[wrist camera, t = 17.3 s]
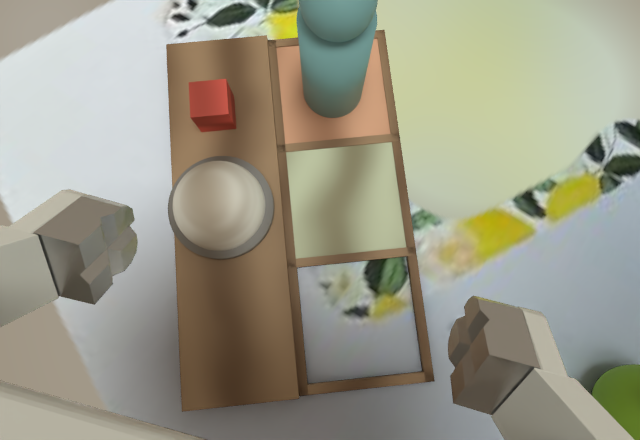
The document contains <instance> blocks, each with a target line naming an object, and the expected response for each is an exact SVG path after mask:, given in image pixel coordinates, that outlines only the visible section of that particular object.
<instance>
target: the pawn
mask: <svg viewBox="0 0 640 440" xmlns="http://www.w3.org/2000/svg"><path fill="white" fill-rule="evenodd" d="M377 1H378V0H299V5H300V6H299V9H298V13H297V29H298V40H299V50H300V61H301V72H302V83H303V93H304V98H305V101H306V103H307V105H308V106H309V107H310V108H311V109H312V110H313V111H314V112H315V113H317V114H319V115H321V116H323V117H327V118H338V117H342V116H345V115H347V114H349V113H350V112H351V111H353V110H354V109H355V108H356V106H357V105H358V103H359V101H360V99H361V95H362V90H363V86H364V81H365V77H366V72H367V67H368V63H369V58H370V54H371V49H372V44H373V40H374V35H375V31H376V26H377V14H376V7H377Z"/></svg>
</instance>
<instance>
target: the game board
mask: <svg viewBox="0 0 640 440" xmlns="http://www.w3.org/2000/svg"><path fill="white" fill-rule="evenodd" d="M166 47H167V71H168V94H169V118H170V142H171V165H172V191H171V194H170V197H169V203H168V215H169V221H170V225H171V227H172V230H173V232H174V236H175V260H176V283H177V307H178V330H179V354H180V378H181V401H182V412H183V411H192V410H201V409H210V408H219V407H228V406H237V405H246V404H255V403H264V402H273V401H282V400H292V399H299V396H304V395H313V394H322V393H331V392H340V391H350V390H359V389H368V388H377V387H386V386H395V385H404V384H413V383H422V382H431V381H434V375H433V368H432V361H431V354H430V347H429V340H428V333H427V326H426V319H425V312H424V305H423V298H422V291H421V284H420V277H419V270H418V262H417V255H416V248H415V241H414V234H413V227H412V220H411V213H410V206H409V199H408V193H407V185H406V179H405V171H404V165H403V157H402V150H401V143H400V137H399V129H398V122H397V115H396V108H395V101H394V94H393V87H392V81H391V74H390V66H389V59H388V52H387V45H386V38H385V32H384V30H378V31H375V35H374V40H373V44H372V49H371V54H370V58H369V63H368V67H367V72H366V77H365V81H364V86H363V90H362V95H361V99H360V101H359V103H358V105H357V106H356V108H355V109H354V110H353V111H351V112H350V113H349V114H347V115H345V116H342V117H338V118H327V117H323V116H321V115H319V114H317V113H315V112H314V111H313V110H312V109H311V108H310V107H309V106H308V105H307V103H306V101H305V98H304V93H303V83H302V72H301V61H300V50H299V40H298V38H289V39H278V40H268V39H267V36H256V37H244V38H233V39H222V40H211V41H200V42H189V43H178V44H167V45H166ZM404 256H407V263H408V270H409V277H410V284H411V291H412V299H413V306H414V313H415V320H416V328H417V335H418V342H419V349H420V356H421V364H422V371H421V372H412V373H403V374H394V375H385V376H376V377H366V378H357V379H348V380H339V381H330V382H321V383H312V384H308V383H307V372H306V361H305V350H304V339H303V328H302V318H301V307H300V296H299V285H298V274H297V268H298V267H307V266H317V265H327V264H336V263H346V262H356V261H366V260H375V259H385V258H395V257H404Z"/></svg>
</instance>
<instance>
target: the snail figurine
mask: <svg viewBox="0 0 640 440" xmlns="http://www.w3.org/2000/svg"><path fill="white" fill-rule="evenodd" d="M592 396H593V397H594V398H595V400H596V401H597V402H598V403H599V404H600V405H601V406H602V407H603V408H604V409H605V410H606V411H607V412H608V413H609V414H610V415H611V416H612V417H613V418H614V419H615V420H616V421H617V422H618V423H619V424H620V425H621V426H622V427H623V428H624V429H625V430H626V431H627V432H628V434H629V435H630V436H631V437H632V438H633V439H634V440H640V365H636V364H631V365H622V366H618V367H615V368H612V369H610V370H608V371H607V372H605V373H604V374H603V375H602V376H601V377H600V378H599V379H598V380H597V382H596V383H595V385H594V387H593V390H592Z"/></svg>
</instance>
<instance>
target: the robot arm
mask: <svg viewBox="0 0 640 440" xmlns="http://www.w3.org/2000/svg"><path fill="white" fill-rule="evenodd" d="M133 221H134V215H133V210H132V208H130V207H129V206H127V205H124V204H120V203H117V202H113V201H110V200H106V199H103V198H99V197H96V196H92V195H87V194H84V193H80V192H77V191H73V190H70V189H69V190H62V191H60V192H59V193H57V194H56V195H54V196H53V197H51V198H50V199H48V200H47V201H46V202H44V203H43V204H41V205H40V206H38V207H37V208H35V209H34V210H32V211H31V212H30V213H28V214H27V215H25V216H24V217H22V218H21V219H19V220H18V221H16V222H15V223H14V224H12V225H11V226H9V227H6V226H2V225H1V226H0V327H2V326H4V325H6V324H8V323H10V322H12V321H14V320H16V319H18V318H20V317H22V316H24V315H26V314H28V313H30V312H32V311H34V310H36V309H38V308H40V307H42V306H44V305H45V304H48V303H50V302H52V301H54V300H56V299H58V298H59V296H61V297H65V298H69V299H73V300H77V301H82V302H86V303H90V304H94V305H95V304H96V302H97V301H98V300H99V299H100V298H101V297H102V296H103V295H104V294H105V292H106V291H107V290H108V289H109V288H110V287H111V286H112V285H113V278H112V276H114V275H116V274H118V273H121V272H123V271H125V270H126V269H127V267H128V266H129V265H130V264H131V262H132V260H133V258H134V256H135V254H136V251H137V243H138V242H137V235H136V233H135V232H134V231H133V230H132V228H131V227H130V225H131V224H132V222H133ZM464 309H465V316H463V317H461V318H458V319H457V320H456V321H455V323H454V325H453V327H452V329H451V333H450V336H449V341H448V355H449V360H450V361H451V362H452V364H453V365H454V366H455V370H454V371H453V373H452V374H451V376H450V377H451V386H452V396H453V403H454V404H457V405H460V406H464V407H467V408H470V409H473V410H477V411H480V412H483V413H487V414H490V415H492V416H491V417H492V419H493V421H494V422H495V424H496V426H497V427H498V429H499V431H500V432H501V434H502V436H503V437H504V439H505V440H634V439H633V438H632V437H631V436H630V435H629V434H628V432H627V431H626V430H625V429H624V428H623V427H622V426H621V425H620V424H619V423H618V422H617V421H616V420H615V419H614V418H613V417H612V416H611V415H610V414H609V413H608V412H607V411H606V410H605V409H604V408H603V407H602V406H601V405H600V404H599V403H598V402H597V401H596V400H595V398H594V397H593V396H592V395H591V394H590V393H589V392H588V391H587V390H586V389H585V388H584V387H583V386H582V385H581V384H580V383H579V382H578V381H577V380H576V379H574V378H570V377H568V375H567V372H566V370H565V367H564V364H563V362H562V359H561V356H560V354H559V351H558V349H557V346H556V343H555V341H554V338H553V335H552V333H551V330H550V327H549V325H548V322H547V320H546V317H545V316H544V315H543V314H542V313H541V312H538V311H534V310H530V309H526V308H522V307H515V306H512V305H508V304H504V303H500V302H496V301H492V300H488V299H484V298H480V297H476V296H472V297H471V298H470V299H469V300H468V301H467V303H466V305H465V306H464ZM0 440H206V439H202V438H199V437H195V436H192V435H189V434H185V433H182V432H178V431H175V430H171V429H168V428H164V427H161V426H157V425H154V424H150V423H147V422H143V421H140V420H137V419H133V418H130V417H126V416H123V415H119V414H116V413H112V412H109V411H105V410H102V409H98V408H95V407H91V406H88V405H84V404H81V403H77V402H74V401H71V400H67V399H64V398H60V397H57V396H53V395H50V394H46V393H43V392H39V391H36V390H33V389H29V388H26V387H22V386H18V385H15V384H11V383H8V382H5V381H1V380H0Z"/></svg>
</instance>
